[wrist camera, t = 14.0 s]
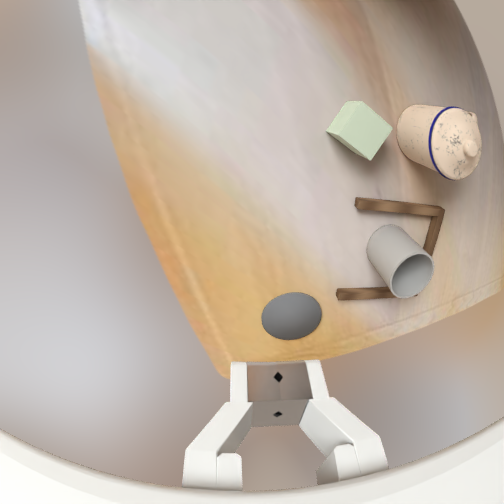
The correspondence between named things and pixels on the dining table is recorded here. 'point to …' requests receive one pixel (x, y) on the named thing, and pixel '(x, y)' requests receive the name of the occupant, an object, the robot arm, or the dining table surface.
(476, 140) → the teacup with lid
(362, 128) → the sage box
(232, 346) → the dining table surface
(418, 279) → the cup
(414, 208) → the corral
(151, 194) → the dining table surface
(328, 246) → the dining table surface
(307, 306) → the slate coaster
